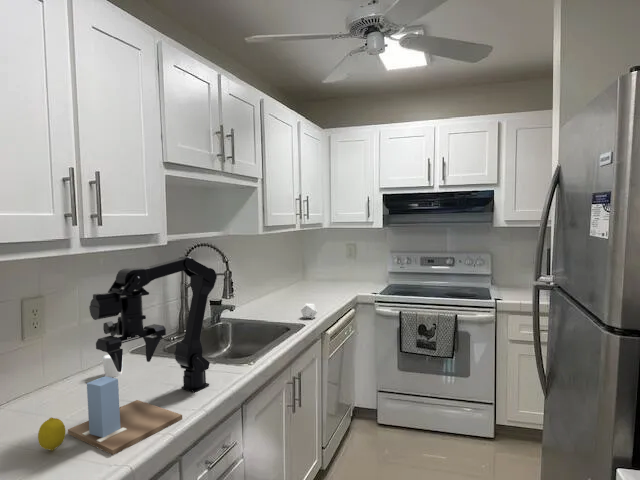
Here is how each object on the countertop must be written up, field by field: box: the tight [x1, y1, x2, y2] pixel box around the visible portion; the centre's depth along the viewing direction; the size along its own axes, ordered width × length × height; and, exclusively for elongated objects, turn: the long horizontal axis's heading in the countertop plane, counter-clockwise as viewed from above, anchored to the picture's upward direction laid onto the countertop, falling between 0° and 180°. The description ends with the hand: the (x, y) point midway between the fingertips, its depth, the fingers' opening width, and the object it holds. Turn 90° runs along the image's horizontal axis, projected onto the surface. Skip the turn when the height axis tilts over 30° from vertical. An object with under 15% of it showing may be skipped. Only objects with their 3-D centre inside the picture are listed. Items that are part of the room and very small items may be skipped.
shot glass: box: [101, 353, 124, 378], centre depth 149 cm, size 7×7×7 cm
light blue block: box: [86, 375, 120, 438], centre depth 105 cm, size 5×5×13 cm
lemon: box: [37, 417, 66, 452], centre depth 99 cm, size 6×6×8 cm
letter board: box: [67, 399, 183, 456], centre depth 110 cm, size 20×20×1 cm
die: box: [300, 303, 318, 320], centre depth 228 cm, size 8×9×10 cm
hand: (134, 366), depth 119 cm, fingers open, 9 cm apart
